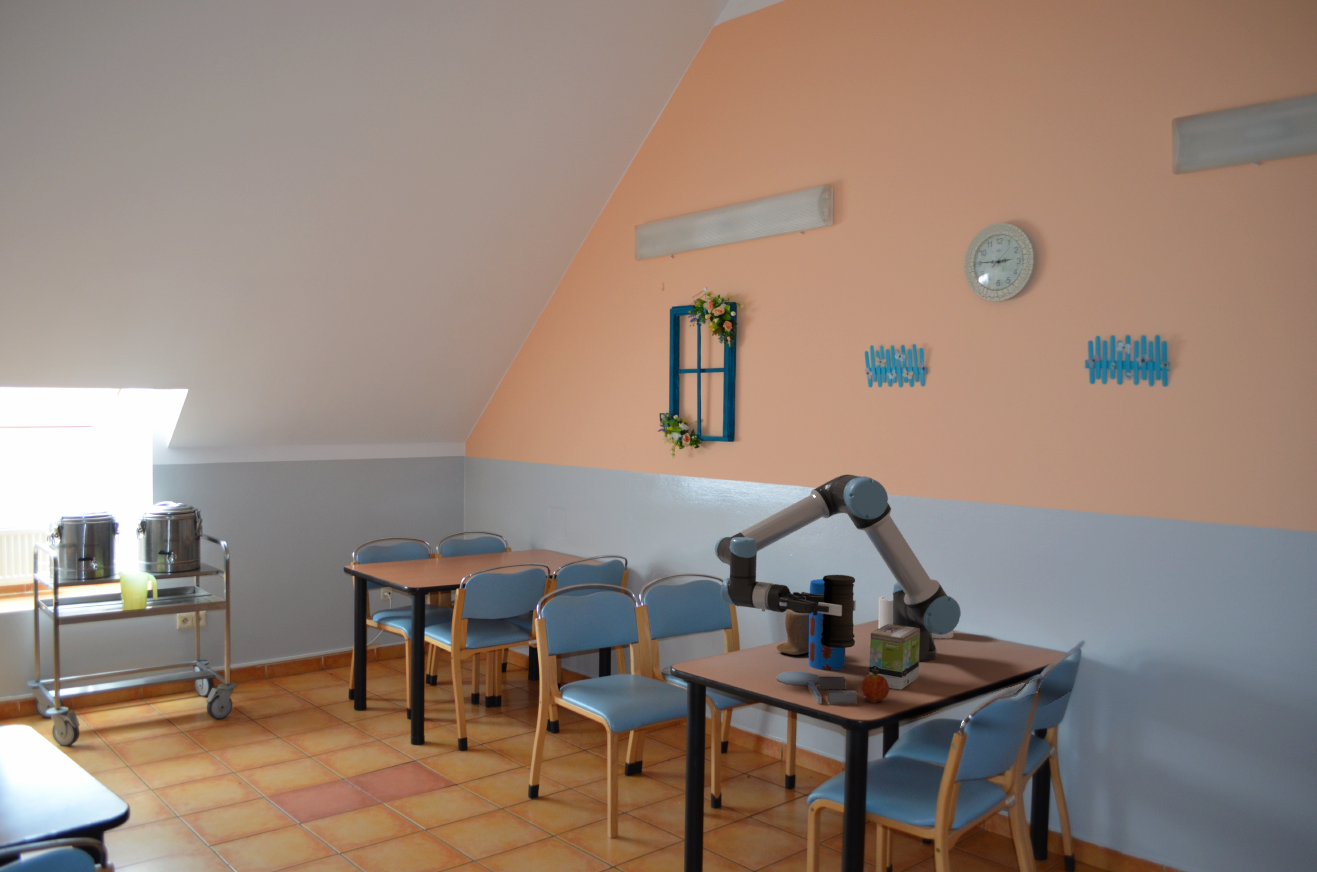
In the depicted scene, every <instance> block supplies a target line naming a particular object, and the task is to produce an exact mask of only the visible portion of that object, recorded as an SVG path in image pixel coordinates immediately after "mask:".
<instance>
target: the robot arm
mask: <svg viewBox="0 0 1317 872" xmlns="http://www.w3.org/2000/svg"><path fill="white" fill-rule="evenodd" d="M888 500H889V497H888V492H887V490H886V488H885V487H884V485H882V483H880V482H879V481H878V480H875V479H874V478H872V477H869V476H860V475H854V474H842V475H840V476H837V477H834V478H832V479H831V480H829V481H826V482H825V483H823V484H821V485H819V486H818V487H816V488H814V489H812V490H811V491H810V495H808V496H806V497H804V498H802V499H800V500H798V501H797V502H795V503H792V504H791V505H789V506H787V507H785V508H784V509H781V510H780V511H777V512H776V513H774V514H772V515H770V516H768V517H767V518H764V519H763V520H761V521H759V522H757V523H755V524H753V525H751V526H749V527H747V528H746V529H743V530H742V531H740V532H738V533H735V534H734V535H731V536H724V537H721V538H720V539H718V540H717V542H716V543H715V546H714V554H715V556H716V557H717V558H718V559H719V560H720V562H721V563H723V564H726V565H728V566H729V577H727V578H725V579H724V580H723V581H722V583H721V587H720V597H721V600H722V601H723V602H724V603H726V604H728V605H733V606H736V607H741V608H742V607H745V608H751V609H757V610H760V609H761V612H766V611H771V612H777V613H784V612H785V613H786V612H787V610H788V609H789V610H794V611H799V612H804V613H808V614H811V613H812V612H813V615H817V611H818V613H823V614H829V615H836V616H842V605H836V604H829V603H824V595H822V594H812V593H810V592H805V591H801V592H799V591H793V593H791V591H790V589H789V586H787V585H785V584H778V583H772V582H763V581H757V554H758V552H760V551H761V550H764V549H765V548H766V547H768V546H770V545H773V544H775V543H776V542H778V541H780V540H781V539H783V538H786V537H787V536H790V535H791V534H793V533H795V532H797V531H799V530H801V529H803V528H804V527H806V526H808V525H810V524H812V523H814V522H815V521H818V520H819V519H821V518H823V519H828V518H831V517H832V516H835V515H838V514H846V515H848V516H847V517H849V519H850V520H851V521H852V523H853V525H854V526H855V528H856V529H857V530H860V531H864V533H866V535H867V537H868V539H869V540H870V541H871V543H872V544H873V546H874V547H875V549H876V551H877V552H878V554H879V556H881V559H882V560H883V562H884V563H885V565H886V566H887V568H888V569H889V571H890V572H891V574H892V575H893V578H895V580H896V582H895V583H894V585H893V591H892V600H893V625H900V626H907V627H914V628H920V649H919V662H923V661H924V662H925V661H926V662H927V661H931V660H934V659H936V658H937V653H938V651H937V646H936V643H935V639H934V638H933V636H932V633H934V634H939V635H943V634H947V633H949V632H951V631H952V630H953V629H956V627H957V626H958V624H959V622H960V617H961V614H962V613H961V607H960V604H959V603H958V602H957V600H955V598H953V597H952V596H950V595H948V594H947V593H946V591H945V589H944V588H943V587H942V585H941V584H940V582H939V581H938V580H937V579H931V578H930V576H929V575H928V573H927V572H926V570H925V568H924V567H923V565H922V563H921V562H920V560H919V559H918V557H917V556H916V554H915V553H914V551H913V550H912V548H911V547H910V545H909V543H908V542H907V540H906V538H905V537H904V536H903V534H902V531H900V529H899V528H898V526H897V524H896V523H895V522H894V519H893V518H892V516H891V512H892V507H891V506H890V503H889V502H888ZM856 601H857V600H855V599H853V612H854V611H856V609H857V607H856V603H857V602H856ZM953 631H954V630H953Z"/></svg>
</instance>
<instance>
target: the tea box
mask: <svg viewBox="0 0 1317 872" xmlns="http://www.w3.org/2000/svg"><path fill="white" fill-rule="evenodd" d="M869 641H870V642H869V643H870V645H869V646H870V647H869V667H868V668H869V669H868V675H872V674H876V671H877V675H880V676H883V677H884V678H885V679H886V680H887V683H888V686H889V689H894V690H900V691H901V690H903V689H904V688H905V687H907V686H909V685H910V684H912V683H913V682H914V681H916V680H917V679H918V678H919V671H920V669H919V668H920V661H919V649H920V628H914V627H907V626H900V625H893V624H887V625H885V626H883V627H881V628H879V629H875V630H873V631H872V632H870V639H869Z"/></svg>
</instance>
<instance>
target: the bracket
mask: <svg viewBox="0 0 1317 872" xmlns="http://www.w3.org/2000/svg"><path fill="white" fill-rule="evenodd" d="M877 624H878V629H879V628H881V627H883V626H885V625H887V624H893V599H891V600H890V599H885V596H883V595H880V596H879V597H878V623H877ZM954 629H955V628H954ZM954 629H953V630H952V631H951V632H949V633H947V634H943V635H939V634H934V633H932V636H933V639H941V638H945V639H951V638H954Z"/></svg>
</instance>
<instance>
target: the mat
mask: <svg viewBox="0 0 1317 872" xmlns="http://www.w3.org/2000/svg"><path fill="white" fill-rule="evenodd" d="M776 680H777V682H779V683H783V684H785V685H790V686H803V687H805V686H808V680H812V681H813V683H814V685H816V684H819V676H818V675H816V674H814V673H812V672H811V673H810V672H806V671H792V670H791V671H784V672H780V673H778V674H777V675H776Z"/></svg>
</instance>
